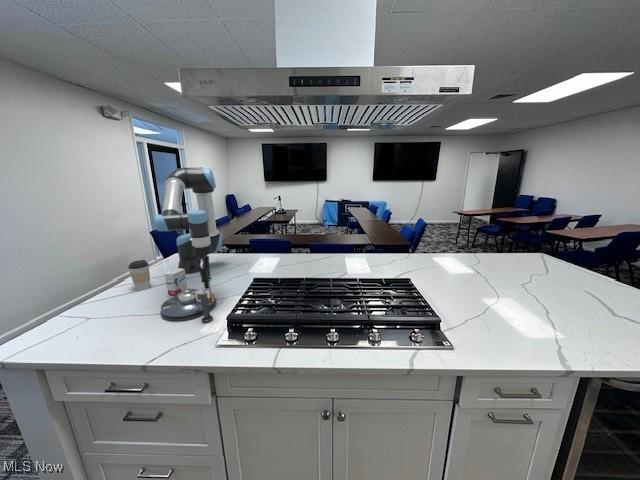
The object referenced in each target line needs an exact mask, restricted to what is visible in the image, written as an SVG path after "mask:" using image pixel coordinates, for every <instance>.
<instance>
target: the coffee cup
mask: <svg viewBox="0 0 640 480" xmlns="http://www.w3.org/2000/svg"><path fill="white" fill-rule="evenodd" d="M149 265H150V263H149V262H147V261H146V259H141V260H135V261H132V262H130V263H129V265H128V270H129V274H130V277H131V280H132V283H133V285H134V288H135V290H136V291H142V290H146V289H149V288H150V287H151V275H150V274H151V273H150V268H149Z"/></svg>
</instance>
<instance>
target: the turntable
mask: <svg viewBox="0 0 640 480" xmlns="http://www.w3.org/2000/svg"><path fill="white" fill-rule="evenodd" d="M209 294H210V298H208V303H209V308H211V307H212V306H213V305H214V303H215V298H216V296H215V294H214V293H213V292H212V293H209ZM160 312H162V314H163V315H164V316H165V317H168V318H185V317H190V316H194V315H197V314H200V313H202V312H203V309H202V302H201V301H197V302H195V303H193V304H190V305H180V304H179V298H178V295H173V296H171V297H169V298H168V299H166V300H165V301H164V302H162V304H161V305H160Z"/></svg>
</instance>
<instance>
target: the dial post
mask: <svg viewBox="0 0 640 480" xmlns="http://www.w3.org/2000/svg"><path fill="white" fill-rule="evenodd" d="M197 291H198V292H196V298H197V301H201V302H202V309H203V316H202V318H201V323H203V324H208V323H211V322H213V321H214V316H213V315H211V311H210V310H209V303H208V298H210V294H209V289H204V288H200V289H199V290H197Z"/></svg>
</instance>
